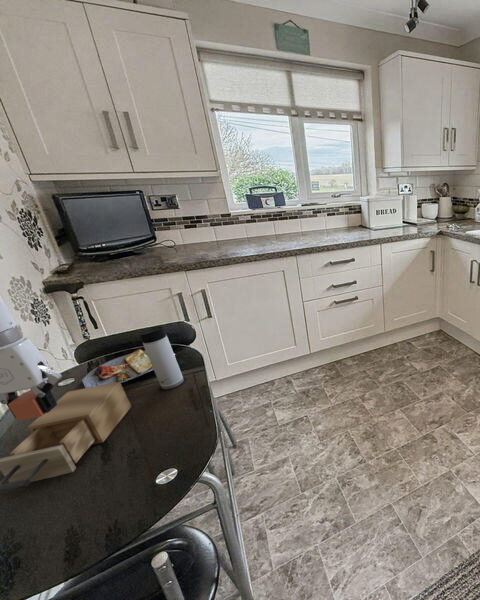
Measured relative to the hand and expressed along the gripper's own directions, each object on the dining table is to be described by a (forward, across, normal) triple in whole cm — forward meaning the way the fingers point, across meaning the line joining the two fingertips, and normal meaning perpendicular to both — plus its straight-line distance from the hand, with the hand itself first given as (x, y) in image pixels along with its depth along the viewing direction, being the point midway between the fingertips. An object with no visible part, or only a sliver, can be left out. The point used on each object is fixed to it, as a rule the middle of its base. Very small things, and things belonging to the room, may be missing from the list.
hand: (36, 411), depth 73 cm
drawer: (+14, -1, -2) cm, 14 cm away
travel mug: (+15, +14, +27) cm, 34 cm away
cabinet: (+15, -1, +11) cm, 19 cm away
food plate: (+15, -5, +43) cm, 45 cm away
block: (0, 0, 0) cm, 0 cm away
